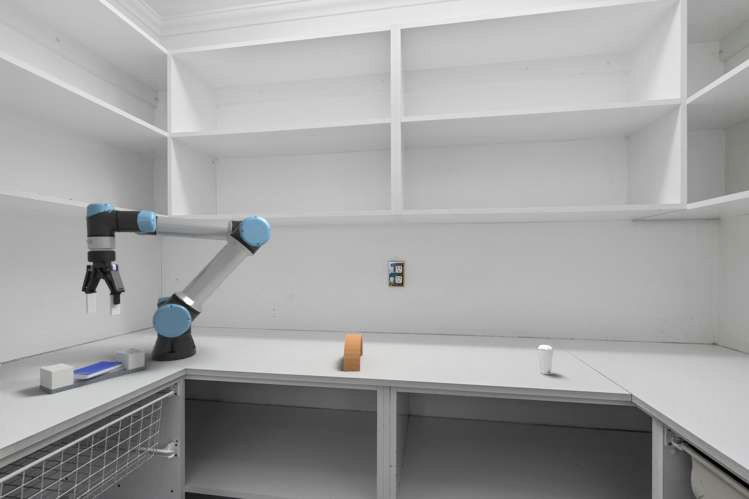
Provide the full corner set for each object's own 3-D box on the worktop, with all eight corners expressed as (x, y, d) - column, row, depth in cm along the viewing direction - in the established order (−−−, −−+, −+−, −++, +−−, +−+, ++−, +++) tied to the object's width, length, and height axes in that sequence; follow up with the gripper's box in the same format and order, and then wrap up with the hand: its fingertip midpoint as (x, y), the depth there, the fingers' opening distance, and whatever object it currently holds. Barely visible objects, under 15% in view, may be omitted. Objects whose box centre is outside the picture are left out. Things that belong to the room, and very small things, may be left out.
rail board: (131, 365, 127) (131, 348, 127) (144, 369, 123) (144, 351, 123) (39, 388, 105) (40, 367, 105) (51, 393, 101) (52, 371, 102)
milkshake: (549, 377, 114) (549, 345, 114) (535, 372, 119) (534, 342, 119) (558, 374, 116) (558, 343, 117) (544, 370, 121) (543, 340, 121)
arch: (342, 371, 121) (342, 341, 121) (348, 355, 141) (348, 329, 141) (360, 371, 121) (359, 341, 121) (363, 355, 141) (363, 329, 141)
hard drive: (87, 373, 108) (122, 362, 120) (64, 372, 109) (101, 361, 121) (87, 379, 108) (122, 366, 120) (64, 377, 109) (101, 365, 121)
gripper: (68, 251, 122) (69, 313, 122) (111, 249, 111) (113, 317, 111) (93, 251, 129) (94, 310, 129) (136, 248, 118) (138, 313, 118)
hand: (103, 313), depth 120 cm, fingers open, 13 cm apart
